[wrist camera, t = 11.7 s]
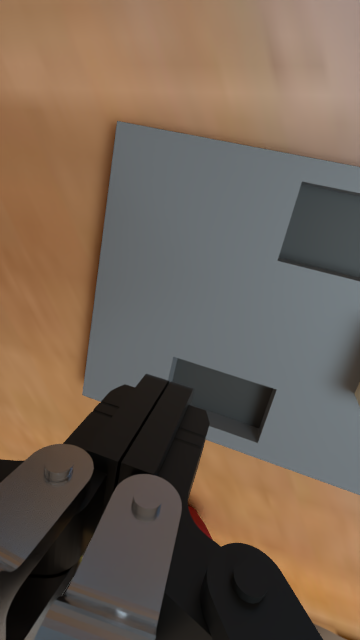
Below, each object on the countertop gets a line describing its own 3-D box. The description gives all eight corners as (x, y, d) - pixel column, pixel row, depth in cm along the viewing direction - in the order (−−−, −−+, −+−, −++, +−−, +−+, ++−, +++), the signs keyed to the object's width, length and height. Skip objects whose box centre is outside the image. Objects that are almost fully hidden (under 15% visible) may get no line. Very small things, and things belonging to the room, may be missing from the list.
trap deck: (130, 128, 28) (104, 113, 23) (558, 211, 22) (623, 210, 18) (94, 383, 36) (70, 405, 32) (399, 490, 30) (418, 534, 26)
